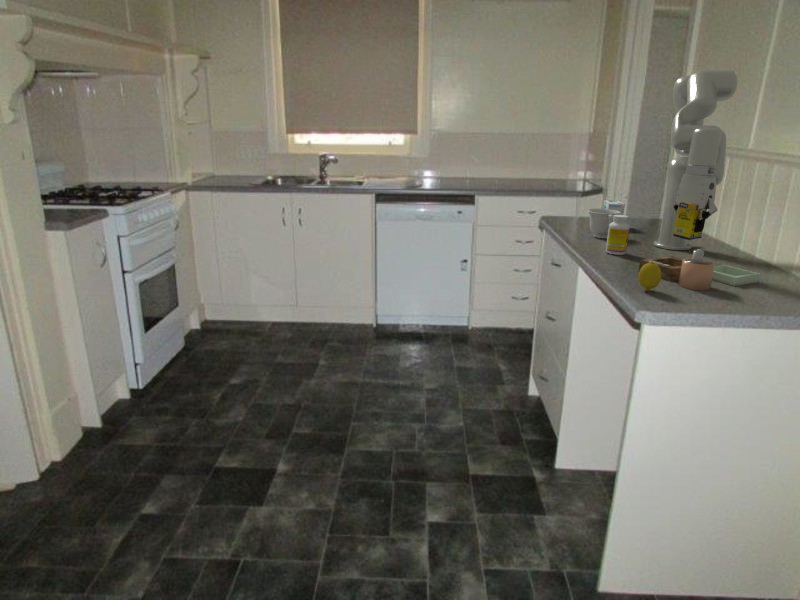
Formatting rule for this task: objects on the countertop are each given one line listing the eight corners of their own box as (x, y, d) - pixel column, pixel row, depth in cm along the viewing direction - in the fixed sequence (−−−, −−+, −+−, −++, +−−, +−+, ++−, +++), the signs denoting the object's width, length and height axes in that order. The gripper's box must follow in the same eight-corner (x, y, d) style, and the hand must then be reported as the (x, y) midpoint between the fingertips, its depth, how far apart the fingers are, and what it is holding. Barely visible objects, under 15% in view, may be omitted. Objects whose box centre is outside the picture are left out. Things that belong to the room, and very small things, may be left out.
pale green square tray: (722, 272, 173) (724, 264, 172) (758, 282, 163) (760, 273, 162) (698, 276, 168) (700, 268, 167) (733, 286, 159) (735, 277, 158)
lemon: (632, 287, 155) (637, 259, 153) (652, 287, 156) (656, 259, 153) (642, 293, 150) (647, 264, 147) (662, 293, 150) (667, 264, 148)
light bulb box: (600, 224, 247) (603, 199, 243) (616, 225, 246) (619, 200, 243) (605, 229, 237) (608, 203, 233) (621, 230, 236) (625, 204, 232)
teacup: (592, 241, 213) (596, 214, 210) (580, 233, 227) (583, 208, 224) (625, 241, 213) (629, 215, 210) (610, 234, 227) (614, 208, 224)
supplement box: (689, 240, 174) (696, 205, 170) (672, 236, 179) (678, 201, 175) (702, 238, 177) (709, 203, 173) (685, 234, 182) (691, 199, 178)
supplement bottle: (627, 256, 191) (633, 218, 187) (606, 254, 192) (611, 217, 188) (624, 251, 197) (629, 214, 193) (604, 250, 198) (609, 213, 194)
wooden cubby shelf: (670, 267, 178) (672, 255, 177) (702, 275, 169) (704, 263, 167) (638, 271, 172) (640, 259, 171) (669, 280, 162) (671, 268, 161)
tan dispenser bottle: (691, 280, 163) (697, 245, 160) (716, 288, 156) (724, 251, 153) (671, 283, 160) (678, 247, 156) (697, 291, 153) (704, 253, 150)
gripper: (735, 173, 165) (722, 234, 171) (683, 166, 179) (673, 222, 186) (717, 175, 162) (705, 237, 168) (667, 167, 176) (657, 224, 183)
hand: (688, 228), depth 177 cm, fingers closed on supplement box, 6 cm apart
